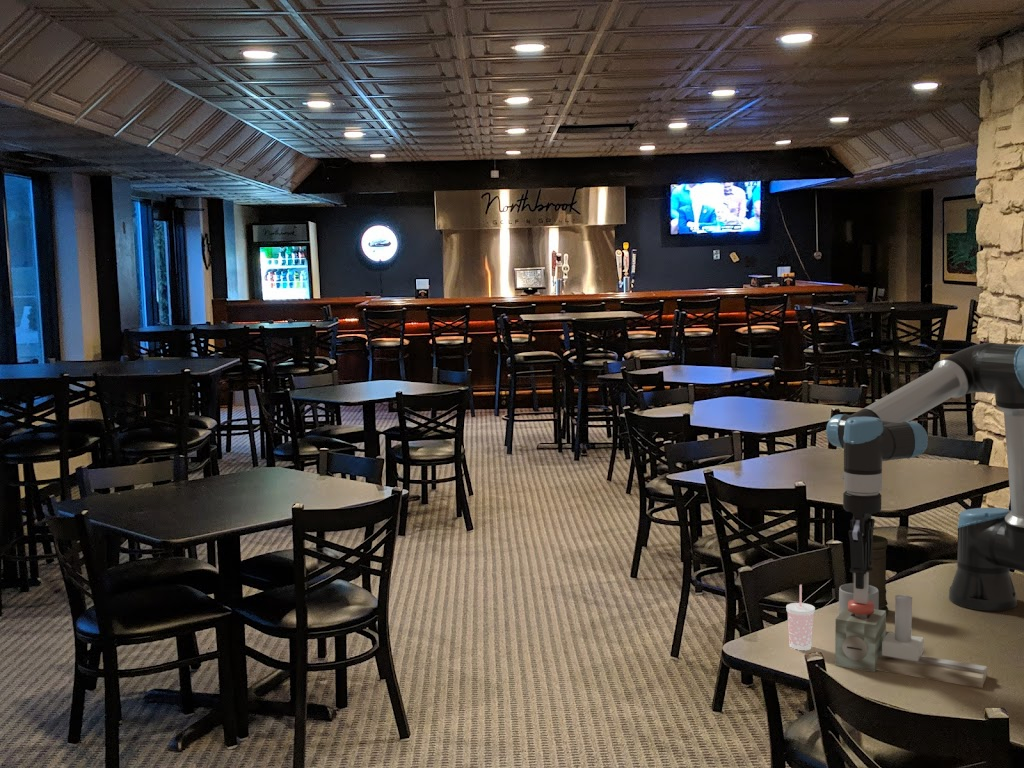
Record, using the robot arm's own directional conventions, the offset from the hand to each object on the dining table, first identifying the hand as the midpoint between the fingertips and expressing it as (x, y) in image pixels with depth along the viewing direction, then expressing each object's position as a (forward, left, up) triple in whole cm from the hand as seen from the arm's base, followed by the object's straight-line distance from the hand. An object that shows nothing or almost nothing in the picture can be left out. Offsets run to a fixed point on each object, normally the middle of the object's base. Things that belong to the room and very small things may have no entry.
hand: (860, 602), depth 216 cm
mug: (-9, -14, -13) cm, 21 cm away
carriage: (-6, +6, -10) cm, 13 cm away
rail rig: (-7, +7, -13) cm, 16 cm away
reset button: (0, 0, -6) cm, 6 cm away
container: (-19, -27, -13) cm, 35 cm away
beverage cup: (+8, -11, -13) cm, 19 cm away
